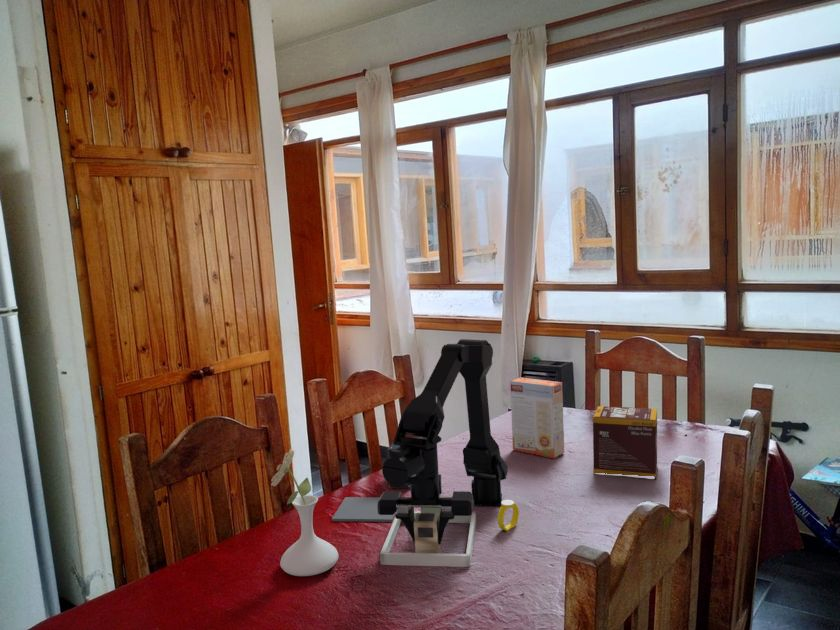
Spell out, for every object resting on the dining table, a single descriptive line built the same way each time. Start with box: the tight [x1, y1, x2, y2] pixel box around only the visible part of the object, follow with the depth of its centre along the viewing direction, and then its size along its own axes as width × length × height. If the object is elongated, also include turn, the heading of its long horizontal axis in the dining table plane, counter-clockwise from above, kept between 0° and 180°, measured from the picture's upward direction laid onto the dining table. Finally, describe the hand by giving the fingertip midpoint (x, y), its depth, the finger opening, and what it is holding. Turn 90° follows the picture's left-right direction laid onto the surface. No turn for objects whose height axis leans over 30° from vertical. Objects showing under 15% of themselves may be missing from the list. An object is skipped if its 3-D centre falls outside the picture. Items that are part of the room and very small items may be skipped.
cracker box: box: [509, 376, 565, 459], centre depth 184 cm, size 14×6×21 cm, turn 47°
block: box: [420, 507, 446, 537], centre depth 139 cm, size 4×4×7 cm
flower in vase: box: [270, 448, 339, 577], centre depth 125 cm, size 13×11×25 cm
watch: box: [497, 499, 520, 532], centre depth 139 cm, size 6×3×6 cm, turn 137°
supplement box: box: [592, 405, 658, 478], centre depth 168 cm, size 10×15×16 cm
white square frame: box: [379, 510, 477, 568], centre depth 135 cm, size 18×20×2 cm
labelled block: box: [414, 513, 442, 554], centre depth 130 cm, size 4×5×7 cm
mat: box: [331, 496, 396, 523], centre depth 153 cm, size 14×12×1 cm
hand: (428, 543), depth 131 cm, fingers closed on labelled block, 4 cm apart
